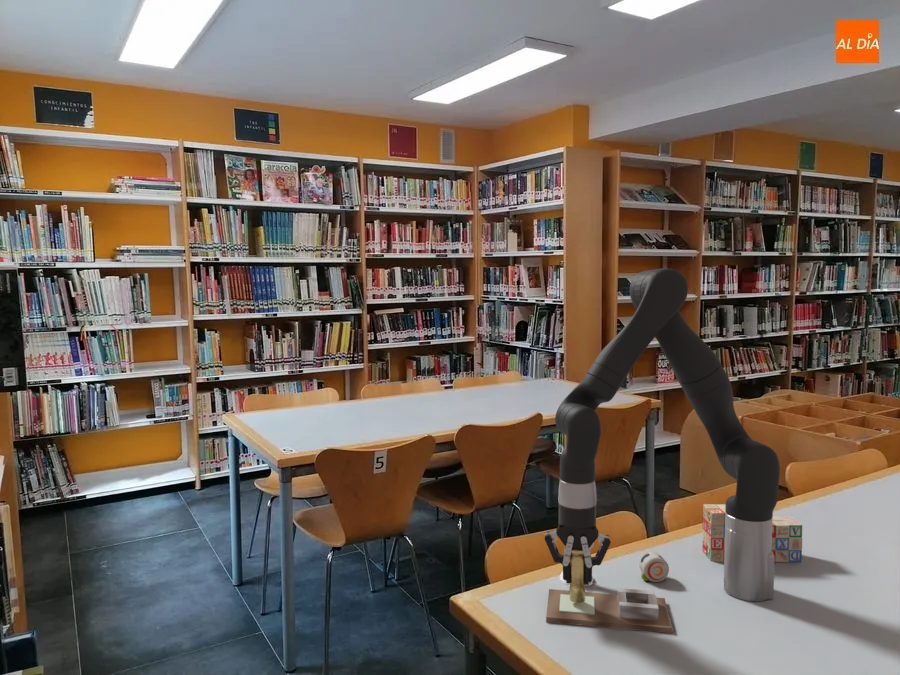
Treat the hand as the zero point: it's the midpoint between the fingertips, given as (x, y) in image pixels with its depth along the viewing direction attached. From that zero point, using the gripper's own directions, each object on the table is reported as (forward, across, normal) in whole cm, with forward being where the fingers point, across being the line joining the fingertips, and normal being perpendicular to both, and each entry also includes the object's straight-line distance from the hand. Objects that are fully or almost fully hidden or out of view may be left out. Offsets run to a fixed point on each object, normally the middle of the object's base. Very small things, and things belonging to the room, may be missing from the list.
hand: (577, 581), depth 133 cm
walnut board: (+6, -6, 0) cm, 8 cm away
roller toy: (+6, -17, -17) cm, 25 cm away
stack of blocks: (+6, -41, -33) cm, 53 cm away
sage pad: (+5, 0, 0) cm, 5 cm away
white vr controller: (+6, 0, -14) cm, 15 cm away
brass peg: (+4, 0, 0) cm, 4 cm away
